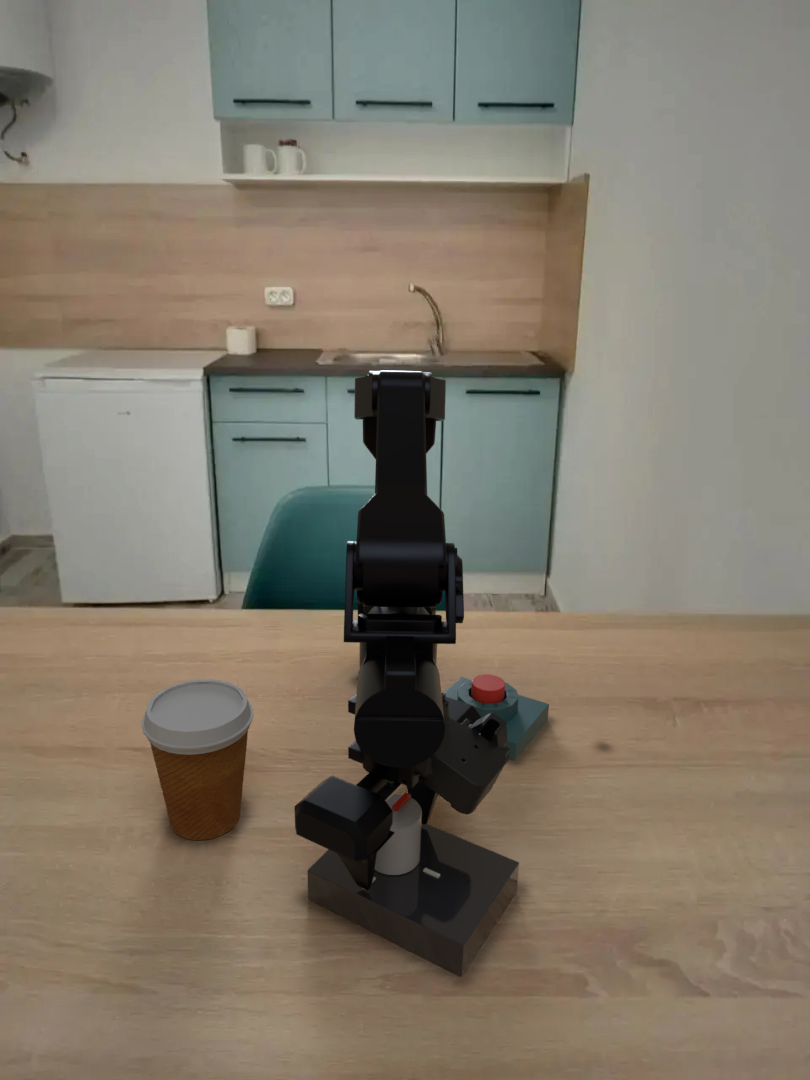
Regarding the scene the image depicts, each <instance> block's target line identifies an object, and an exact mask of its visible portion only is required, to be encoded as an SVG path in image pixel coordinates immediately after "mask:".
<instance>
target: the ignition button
mask: <svg viewBox="0 0 810 1080" xmlns="http://www.w3.org/2000/svg"><path fill="white" fill-rule="evenodd" d="M471 680H472V689H471V697H472V698H473V699H474V700H475V701H478V702H481V703H487V704H495V703H499V702H502V701H503V700H504V694H505V683H506V681H505V680H504V679H503V678H501V676H498V675H496V674H492V673H491V674H490V673H489V674H488V673H483V674H478V675H476V676H474V677H473V678H472V679H471Z"/></svg>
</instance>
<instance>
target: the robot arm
mask: <svg viewBox="0 0 810 1080" xmlns="http://www.w3.org/2000/svg"><path fill="white" fill-rule="evenodd" d="M446 391H447V380H445V379H442V378H437V377H435V376H433V375H432V371H431V372H430V371H422V370H385V369H383V370H382V369H381V370H369V371H368V374H366V375H364V376H361V377H354V411H353V412H354V415H353V417H354V419H355V420H359V421H360V420H362V443H363V445H364V447H366V449H367V450H368V451H369V453H370V454H371V455H372V457H373V458H374V459H375V477H374V494H373V495H372V497H371V498H370V499H368V500H367V501H366V503H364V504H363V506H361V507H360V509H359V510H358V511H357V524H356V525H357V526H356V541H355V540H347V542H346V550H345V552H346V554H345V577H344V578H345V581H344V583H345V584H344V587H345V588H344V615H343V616H344V617H343V643H356V644H357V643H358V644H359V670H358V672H357V676H356V694H354V695H353V696H352V697H351V698H350V699H348V700H347V712H348V713H349V714H352V715H354V720H353V721H354V723H353V733H354V739H355V740H354V741H353V742H352V743H351V744H350V745H349V746H347V747H348V748H347V753H348V754H347V755H348V757H347V758H348V759H349V760H352V761H355V762H357V763H359V764H361V765H362V768H363V770H364V771H366V773H367V774H366V775H365V776H364V777H363V778H362V779H361V780H359V782H358V783H356V784H354V783H351V782H350V781H347V780H345V779H342V778H340V777H338V776H335V775H330V776H328V777H327V778H325V779H324V780H322V781H321V782H319V784H318V785H316V786H315V787H314V788H313V789H312V790H311V791H310V792H308V794H306V795H305V796H304V797H303V798H301V800H299V802H298V803H296V804H295V805H294V806H293V807H294V829H295V835H297V836H300V837H301V838H303V839H305V840H308V841H310V842H312V843H314V844H316V845H318V846H320V847H322V848H325V849H327V850H328V849H329V850H331V851H333V852H335V853H337V854H338V855H339V857H340V858H341V860H342V862H343V863H344V865H345V866H346V868H347V870H348V871H349V873H350V874H351V876H352V878H353V879H354V881H355V882H356V884H357V885H358V886H359V887H361V888H363V889H366V890H369V889H370V888H371V885H372V881H373V876H374V870H375V863H376V856H377V852H378V851H379V850H380V849H381V848H382V847H383V845H384V844H385V843H386V842H387V841H388V840H389V839H390V838H391V837H392V836H393V835H394V832H393V831H390V828H391V826H392V823H393V811H392V809H391V808H390V806H389V805H388V804H387V801H388V800H389V799H390V798H391V797H392V796H393V795H394V794H397V792H398V791H399V790H400V789H401V788H402V787H403V786H405V787H406V790H407V791H406V792H407V793H408V794H411V798H413V799H414V800H415V801H417V802H418V804H419V805H420V807H421V810H422V823H421V824H428V823H429V821H430V818H431V815H432V813H433V810H434V807H435V805H436V802H437V799H438V797H441V798H442V799H443V800H444V801H446V802H447V803H449V804H450V806H451V808H452V809H453V810H455V811H456V812H458V813H459V814H463V815H470V814H473V813H474V812H475V811H476V809H477V808H478V807H479V805H480V804H481V802H482V801H483V800H484V799H485V798H486V796H487V795H488V794H490V792H491V791H492V789H493V787H494V785H495V784H496V782H497V780H498V778H499V776H500V775H501V772H502V771H503V769H504V767H505V766H506V765H507V763H508V762H509V761H510V760H511V759H510V756H509V754H508V752H509V750H510V748H508V747H507V746H506V744H507V723H506V721H504V720H503V719H501V718H500V717H499V716H497V715H496V714H494V713H490V714H488V715H486V716H484V717H481V716H480V715H479V713H478V712H477V711H476V709H475V708H474V706H473V705H470V704H467V703H464V702H461V701H458V700H455V699H452V698H449V697H446V694H443V693H444V692H442V686H441V676H440V672H439V668H438V665H437V657H438V645H456V643H457V624H463V623H464V619H465V598H464V567H463V559H462V557H461V556H460V555H458V547H455V543H454V542H447V538H446V537H447V536H446V521H445V512H444V511H443V510H442V509H441V508H440V507H439V506H438V505H437V504H436V502H434V501H433V499H432V498H430V496H429V495H428V473H427V471H428V470H427V467H428V466H427V454H428V453H429V451H431V449H432V448H433V447H434V446H435V443H436V429H437V422H444V421H445V420H446V396H447V395H446V393H447V392H446ZM355 591H356V601H357V619H354V608H355V607H354V605H355ZM443 593H444V602H445V604H444V605H445V620H444V621H443V615H441V614H437V607H438V605H440V604H441V603H442V602H443Z"/></svg>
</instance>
